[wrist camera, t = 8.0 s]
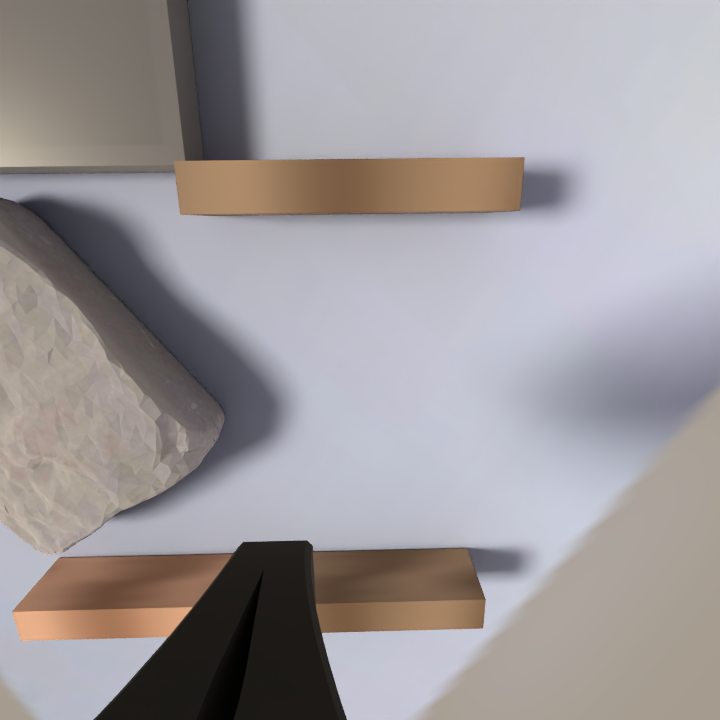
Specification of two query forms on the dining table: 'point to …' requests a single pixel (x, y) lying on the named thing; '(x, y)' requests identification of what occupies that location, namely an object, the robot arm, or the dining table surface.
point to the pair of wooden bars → (331, 569)
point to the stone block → (83, 395)
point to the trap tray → (97, 87)
